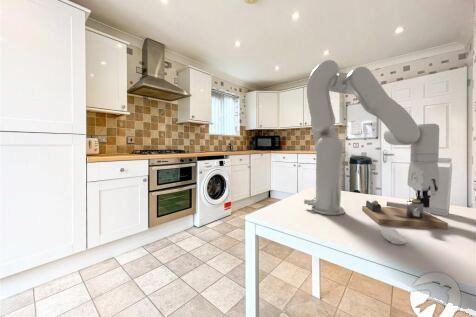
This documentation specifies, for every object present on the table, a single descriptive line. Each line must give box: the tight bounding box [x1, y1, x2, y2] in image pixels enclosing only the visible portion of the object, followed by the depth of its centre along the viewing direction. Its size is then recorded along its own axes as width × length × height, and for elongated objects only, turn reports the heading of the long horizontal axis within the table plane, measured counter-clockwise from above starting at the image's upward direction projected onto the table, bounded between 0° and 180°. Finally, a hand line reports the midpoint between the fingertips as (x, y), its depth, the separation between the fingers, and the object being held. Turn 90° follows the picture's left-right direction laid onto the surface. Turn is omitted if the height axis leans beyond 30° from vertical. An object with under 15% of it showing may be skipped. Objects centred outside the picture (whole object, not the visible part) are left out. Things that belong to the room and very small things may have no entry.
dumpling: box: [380, 226, 409, 245], centre depth 58 cm, size 7×5×4 cm
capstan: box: [386, 198, 448, 219], centre depth 72 cm, size 16×16×6 cm
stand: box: [361, 199, 449, 230], centre depth 76 cm, size 20×15×6 cm
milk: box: [426, 157, 453, 217], centre depth 81 cm, size 6×6×22 cm
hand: (422, 208), depth 75 cm, fingers closed
